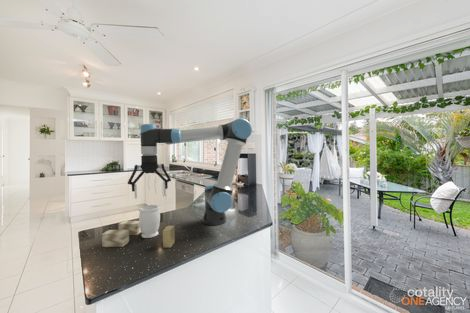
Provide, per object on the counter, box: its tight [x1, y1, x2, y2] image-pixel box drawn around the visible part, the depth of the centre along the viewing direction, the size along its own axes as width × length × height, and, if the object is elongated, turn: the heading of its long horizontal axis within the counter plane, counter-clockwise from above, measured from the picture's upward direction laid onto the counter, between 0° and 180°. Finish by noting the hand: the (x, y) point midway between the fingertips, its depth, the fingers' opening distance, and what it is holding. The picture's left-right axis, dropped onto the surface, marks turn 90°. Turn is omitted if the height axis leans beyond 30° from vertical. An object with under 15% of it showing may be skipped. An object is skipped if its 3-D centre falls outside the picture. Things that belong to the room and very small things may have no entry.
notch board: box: [101, 220, 142, 248], centre depth 104 cm, size 10×18×6 cm, turn 179°
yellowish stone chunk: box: [162, 225, 176, 249], centre depth 97 cm, size 4×6×8 cm, turn 179°
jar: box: [138, 204, 161, 239], centre depth 108 cm, size 11×10×15 cm
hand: (150, 196), depth 103 cm, fingers open, 13 cm apart
